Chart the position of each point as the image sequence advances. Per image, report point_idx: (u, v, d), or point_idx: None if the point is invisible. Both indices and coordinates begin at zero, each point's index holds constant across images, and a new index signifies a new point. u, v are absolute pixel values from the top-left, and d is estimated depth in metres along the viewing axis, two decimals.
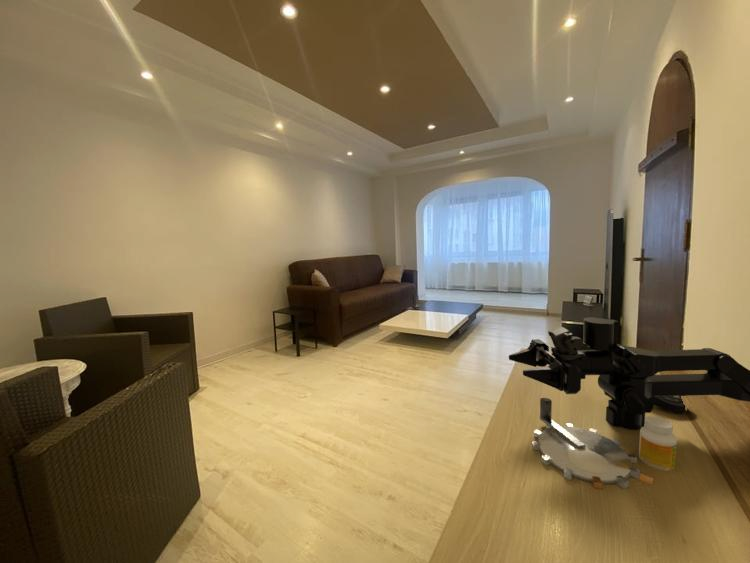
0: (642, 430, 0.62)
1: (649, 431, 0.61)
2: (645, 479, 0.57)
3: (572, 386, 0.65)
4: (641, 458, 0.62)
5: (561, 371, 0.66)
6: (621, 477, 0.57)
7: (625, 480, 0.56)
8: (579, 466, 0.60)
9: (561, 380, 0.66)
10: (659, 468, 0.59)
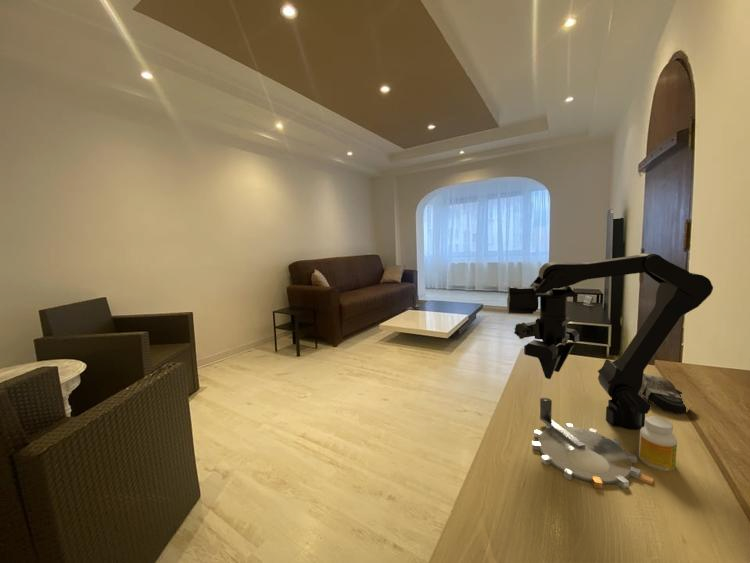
0: (642, 430, 0.62)
1: (649, 431, 0.61)
2: (645, 479, 0.57)
3: (541, 355, 0.70)
4: (641, 458, 0.62)
5: None
6: (621, 477, 0.57)
7: (625, 480, 0.56)
8: (579, 466, 0.60)
9: None
10: (659, 468, 0.59)
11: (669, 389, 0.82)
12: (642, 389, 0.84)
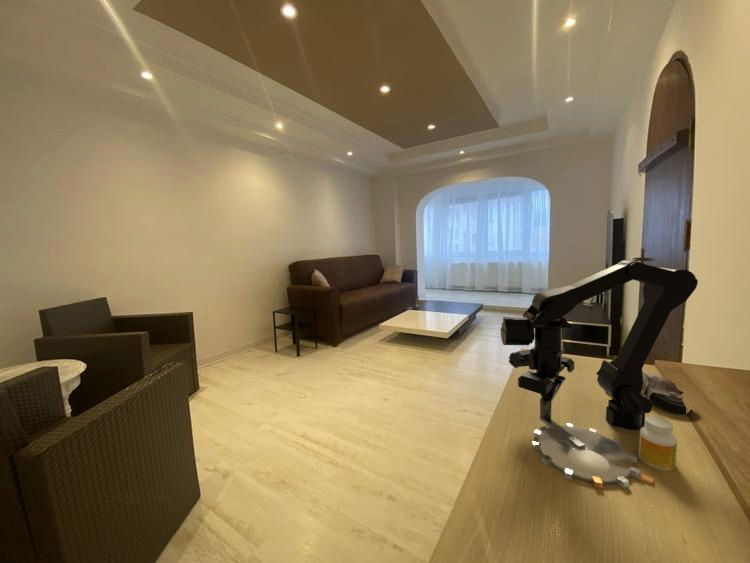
0: (642, 430, 0.62)
1: (649, 431, 0.61)
2: (645, 479, 0.57)
3: (535, 389, 0.69)
4: (641, 458, 0.62)
5: None
6: (621, 477, 0.57)
7: (625, 480, 0.56)
8: (579, 466, 0.60)
9: None
10: (659, 468, 0.59)
11: (671, 389, 0.82)
12: (644, 389, 0.84)
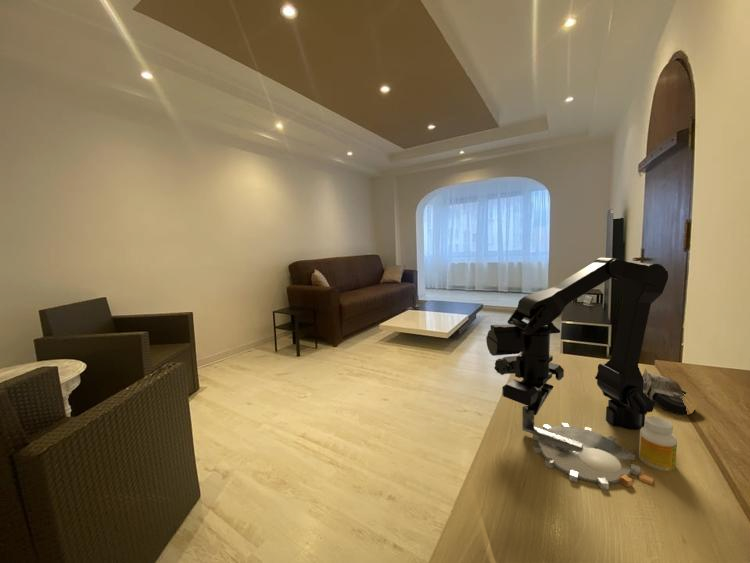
0: (642, 430, 0.62)
1: (649, 431, 0.61)
2: (645, 479, 0.57)
3: (519, 399, 0.65)
4: (641, 458, 0.62)
5: None
6: (633, 465, 0.59)
7: (638, 467, 0.59)
8: (603, 470, 0.58)
9: None
10: (659, 468, 0.59)
11: (675, 390, 0.81)
12: (647, 389, 0.84)
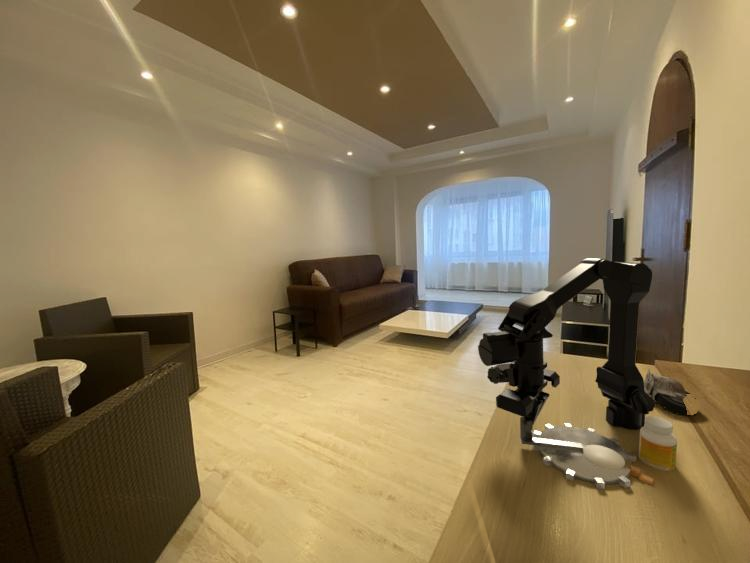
0: (642, 430, 0.62)
1: (649, 431, 0.61)
2: (645, 479, 0.57)
3: (514, 409, 0.62)
4: (641, 458, 0.62)
5: None
6: (627, 453, 0.62)
7: (632, 453, 0.62)
8: (615, 467, 0.59)
9: None
10: (659, 468, 0.59)
11: (678, 391, 0.81)
12: (649, 389, 0.84)
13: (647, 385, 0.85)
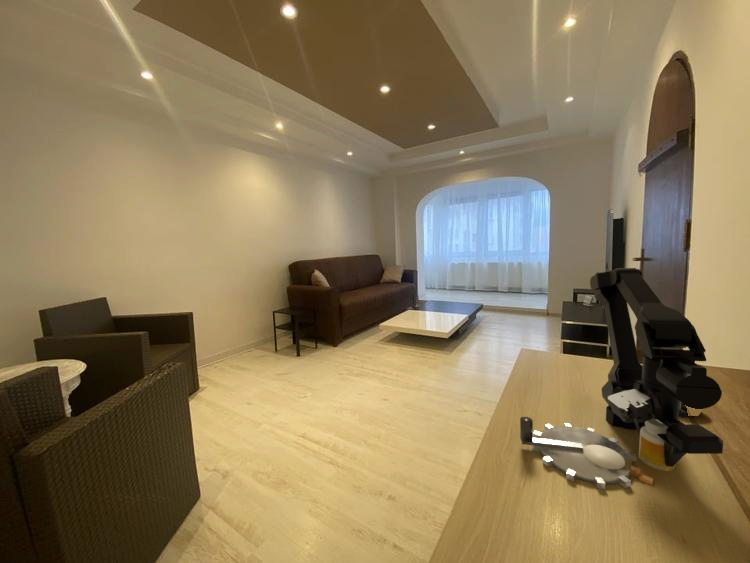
0: (642, 430, 0.62)
1: (649, 431, 0.61)
2: (645, 479, 0.57)
3: (713, 449, 0.51)
4: (641, 458, 0.62)
5: None
6: (627, 452, 0.63)
7: (632, 453, 0.62)
8: (615, 466, 0.59)
9: None
10: (659, 468, 0.59)
11: None
12: None
13: None
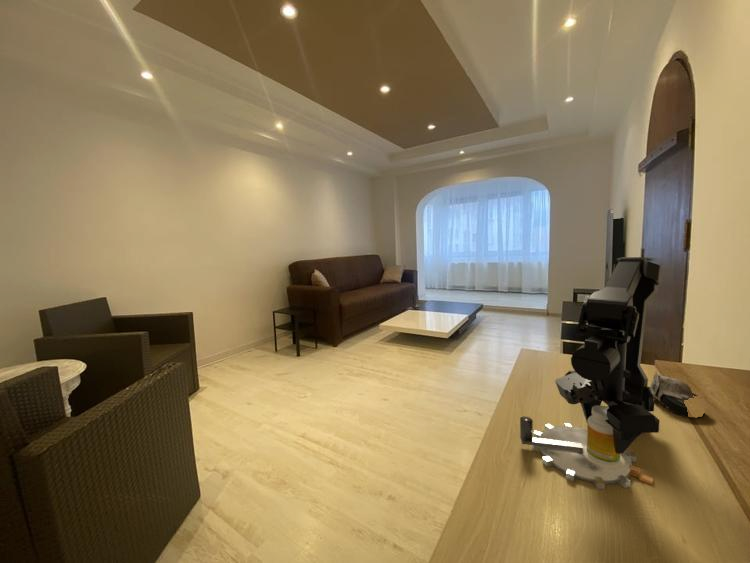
0: (589, 419, 0.62)
1: (594, 419, 0.61)
2: (645, 479, 0.57)
3: (648, 428, 0.51)
4: (588, 447, 0.62)
5: None
6: (627, 453, 0.62)
7: (632, 453, 0.62)
8: (615, 466, 0.59)
9: None
10: (603, 456, 0.59)
11: (685, 393, 0.80)
12: (655, 390, 0.83)
13: (653, 386, 0.85)
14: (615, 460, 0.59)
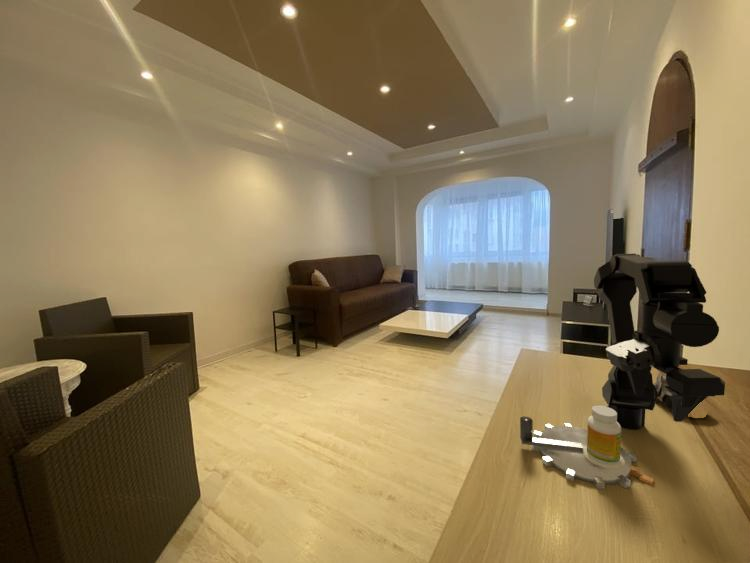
0: (589, 419, 0.62)
1: (594, 420, 0.61)
2: (645, 479, 0.57)
3: (714, 390, 0.49)
4: (588, 447, 0.62)
5: (687, 396, 0.51)
6: (627, 453, 0.62)
7: (632, 453, 0.62)
8: (615, 466, 0.59)
9: (700, 395, 0.51)
10: (603, 456, 0.59)
11: None
12: None
13: (656, 387, 0.84)
14: (615, 460, 0.59)
